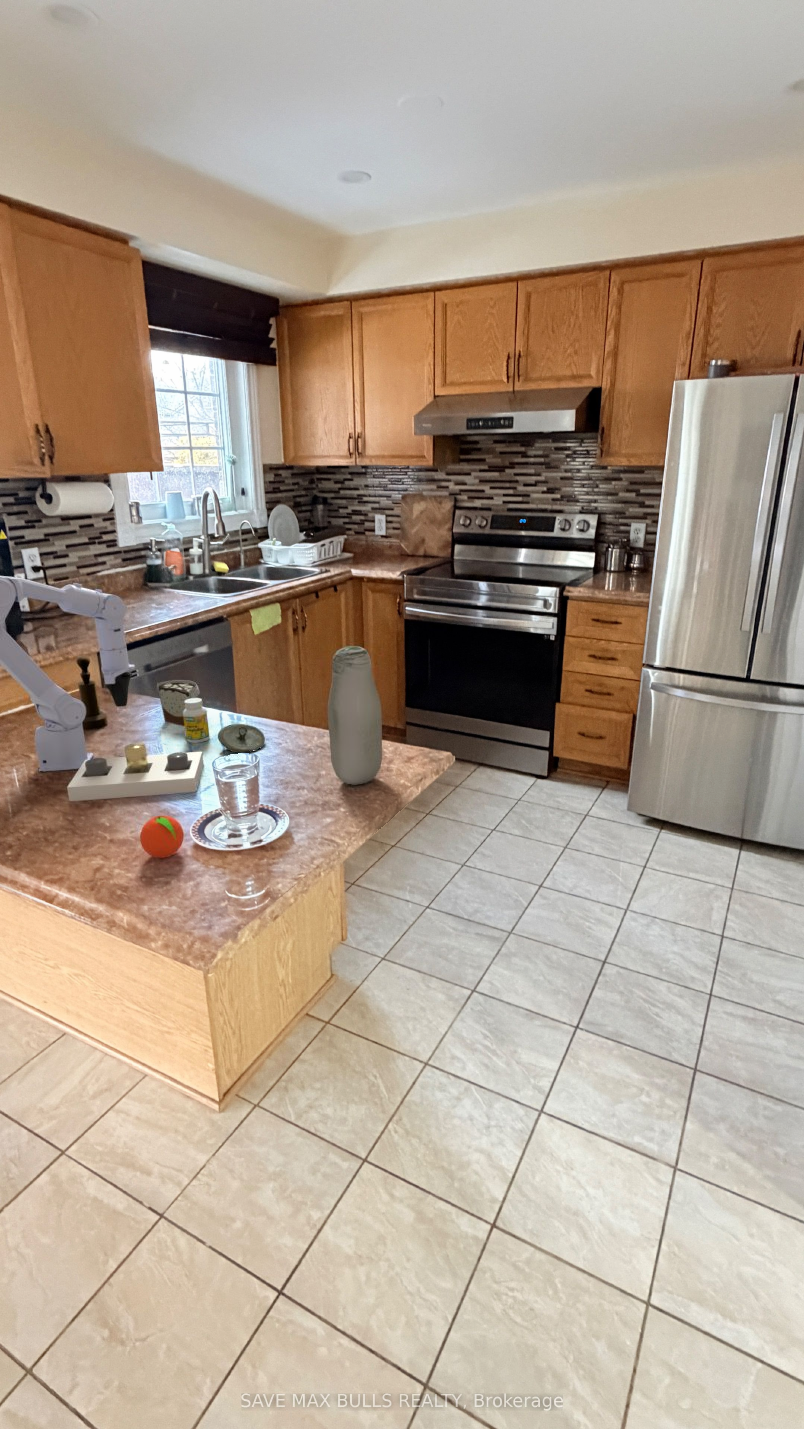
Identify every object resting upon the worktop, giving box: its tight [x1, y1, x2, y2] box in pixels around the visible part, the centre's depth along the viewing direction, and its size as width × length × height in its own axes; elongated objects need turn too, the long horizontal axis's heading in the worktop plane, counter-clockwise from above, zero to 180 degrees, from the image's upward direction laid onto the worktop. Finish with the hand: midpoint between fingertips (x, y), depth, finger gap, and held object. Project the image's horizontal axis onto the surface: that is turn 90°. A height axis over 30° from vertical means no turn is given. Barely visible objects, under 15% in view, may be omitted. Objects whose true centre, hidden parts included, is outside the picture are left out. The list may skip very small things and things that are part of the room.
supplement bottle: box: [183, 697, 211, 744], centre depth 175 cm, size 5×5×10 cm
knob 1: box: [85, 757, 108, 777], centre depth 152 cm, size 4×4×5 cm
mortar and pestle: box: [76, 654, 108, 731], centre depth 184 cm, size 7×6×18 cm
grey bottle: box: [327, 645, 383, 786], centre depth 147 cm, size 10×10×28 cm
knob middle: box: [124, 742, 148, 773], centre depth 152 cm, size 4×4×5 cm
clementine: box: [139, 814, 185, 859], centre depth 124 cm, size 8×7×7 cm
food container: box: [156, 679, 200, 728], centre depth 187 cm, size 12×6×10 cm, turn 58°
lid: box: [217, 723, 266, 754], centre depth 171 cm, size 11×10×5 cm
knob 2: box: [167, 751, 189, 771], centre depth 154 cm, size 4×4×5 cm
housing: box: [66, 751, 205, 802], centre depth 154 cm, size 24×14×3 cm, turn 98°
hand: (121, 705), depth 172 cm, fingers closed
